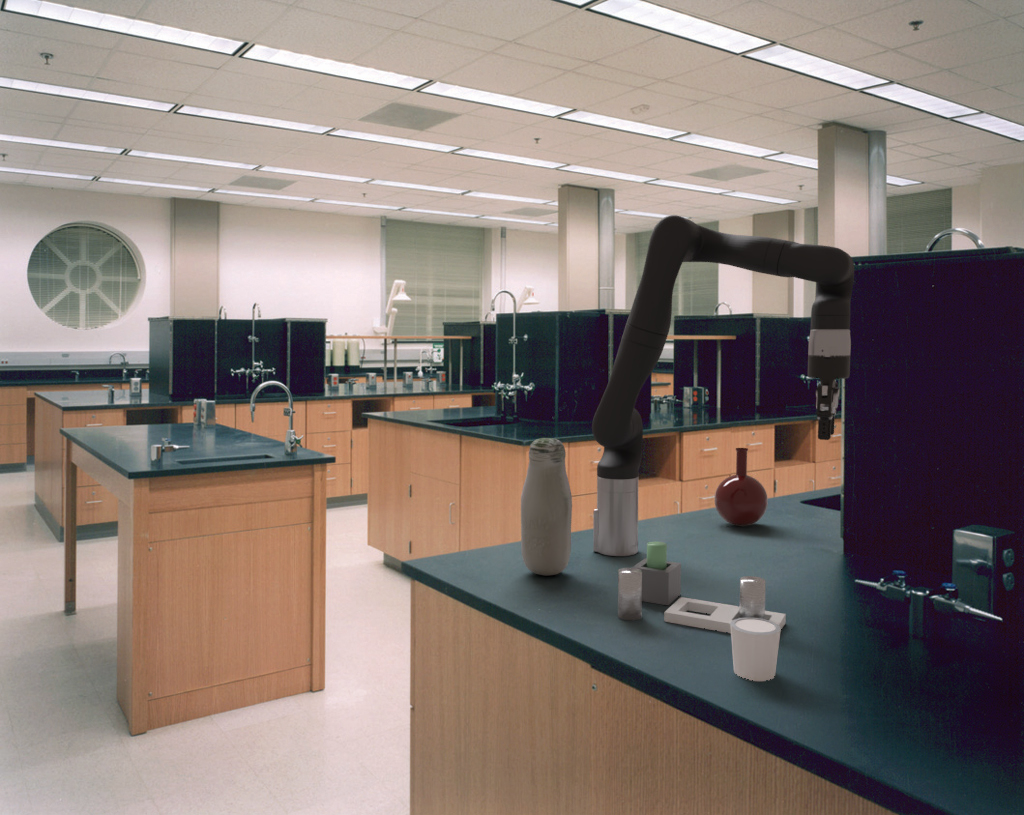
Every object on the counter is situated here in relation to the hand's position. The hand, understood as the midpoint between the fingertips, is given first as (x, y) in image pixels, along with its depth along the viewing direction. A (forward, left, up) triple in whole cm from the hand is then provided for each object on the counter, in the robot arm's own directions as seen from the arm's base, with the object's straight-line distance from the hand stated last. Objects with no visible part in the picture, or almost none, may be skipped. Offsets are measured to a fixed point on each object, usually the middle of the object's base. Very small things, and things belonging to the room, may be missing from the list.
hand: (826, 437), depth 151 cm
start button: (-25, -25, -25) cm, 43 cm away
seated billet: (-6, -32, -29) cm, 43 cm away
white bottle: (-50, -22, -29) cm, 62 cm away
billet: (-26, -37, -29) cm, 54 cm away
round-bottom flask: (-26, +40, -29) cm, 55 cm away
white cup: (-2, -50, -29) cm, 58 cm away
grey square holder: (-25, -25, -29) cm, 46 cm away
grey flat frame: (-11, -32, -29) cm, 44 cm away
